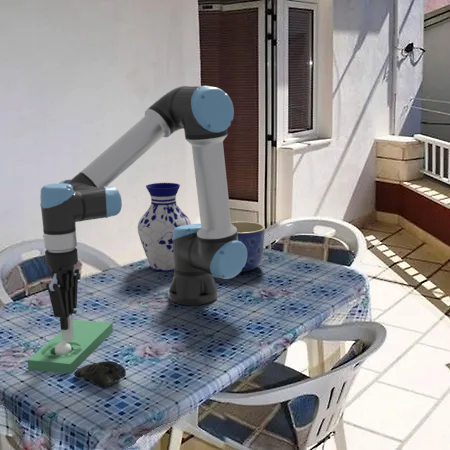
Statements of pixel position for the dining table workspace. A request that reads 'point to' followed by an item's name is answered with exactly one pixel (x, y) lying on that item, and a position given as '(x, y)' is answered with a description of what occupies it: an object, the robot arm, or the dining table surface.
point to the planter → (251, 242)
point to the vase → (161, 225)
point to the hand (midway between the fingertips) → (67, 339)
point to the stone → (101, 373)
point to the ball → (62, 348)
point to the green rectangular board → (81, 348)
